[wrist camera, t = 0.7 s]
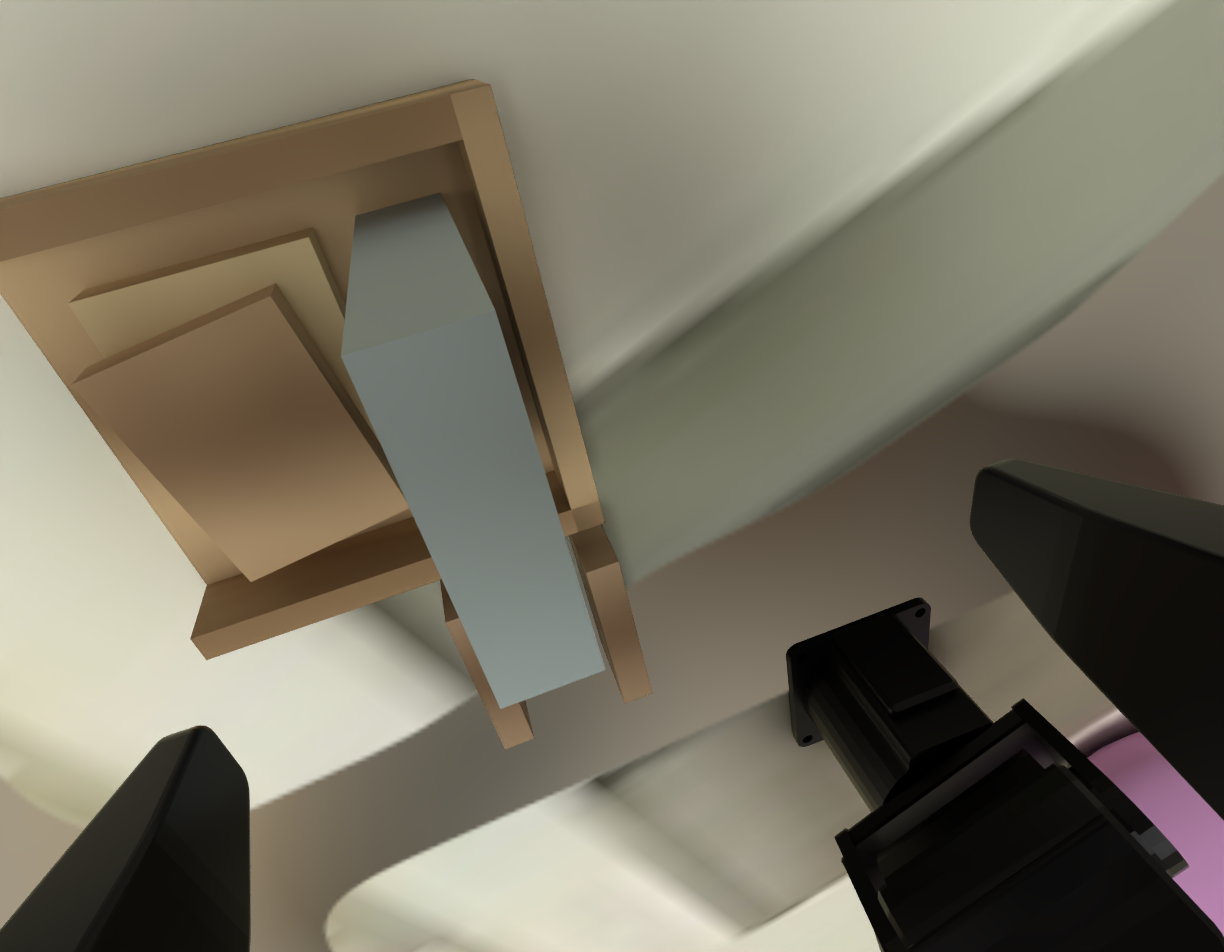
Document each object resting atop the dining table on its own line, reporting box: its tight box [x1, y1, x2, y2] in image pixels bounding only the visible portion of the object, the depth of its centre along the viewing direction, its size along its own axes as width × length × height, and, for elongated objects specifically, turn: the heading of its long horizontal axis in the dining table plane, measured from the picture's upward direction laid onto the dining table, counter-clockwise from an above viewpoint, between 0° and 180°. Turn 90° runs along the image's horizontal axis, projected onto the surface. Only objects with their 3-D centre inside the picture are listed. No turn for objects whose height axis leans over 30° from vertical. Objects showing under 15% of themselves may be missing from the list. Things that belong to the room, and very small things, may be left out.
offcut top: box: [71, 283, 409, 582], centre depth 17 cm, size 6×4×1 cm
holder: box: [440, 525, 652, 749], centre depth 23 cm, size 6×5×3 cm
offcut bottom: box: [68, 228, 379, 441], centre depth 17 cm, size 7×5×1 cm
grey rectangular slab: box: [341, 193, 605, 709], centre depth 15 cm, size 7×2×9 cm, turn 12°
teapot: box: [1087, 732, 1224, 936], centre depth 41 cm, size 22×22×14 cm
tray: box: [0, 79, 605, 660], centre depth 17 cm, size 11×11×3 cm
